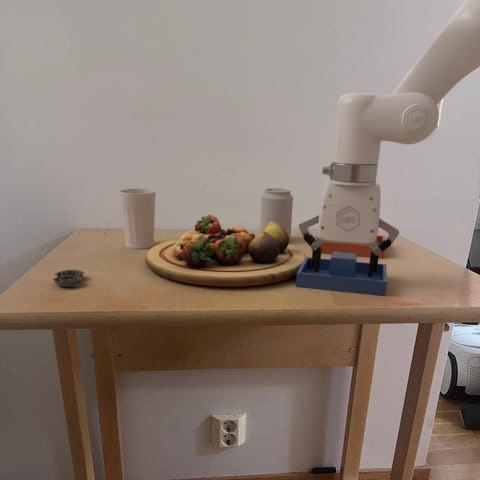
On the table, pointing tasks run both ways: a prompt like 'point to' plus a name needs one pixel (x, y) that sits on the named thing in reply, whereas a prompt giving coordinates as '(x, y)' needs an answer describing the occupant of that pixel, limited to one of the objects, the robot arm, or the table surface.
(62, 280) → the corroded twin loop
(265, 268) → the wooden plate
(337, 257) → the blue block
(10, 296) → the table surface
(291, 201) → the can
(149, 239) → the cup
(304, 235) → the robot arm
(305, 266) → the blue tray
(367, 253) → the terracotta tray
